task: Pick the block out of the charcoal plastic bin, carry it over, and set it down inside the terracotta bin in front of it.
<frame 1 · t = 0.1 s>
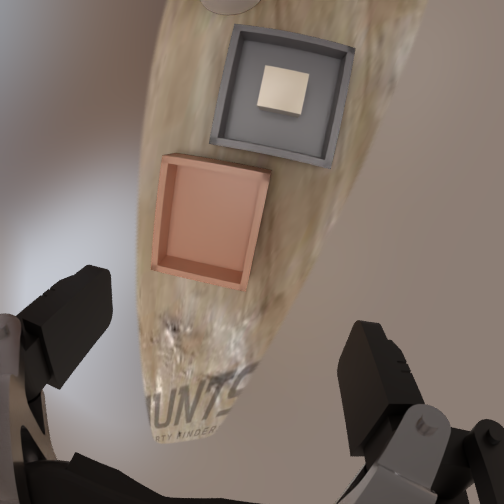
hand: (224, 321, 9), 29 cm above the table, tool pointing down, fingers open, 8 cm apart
block: (282, 95, 32), point 1 cm above the table, touching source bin
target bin: (212, 215, 38), on the table
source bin: (282, 96, 32), on the table
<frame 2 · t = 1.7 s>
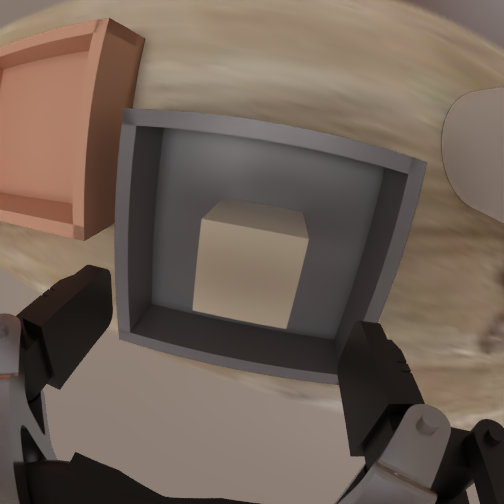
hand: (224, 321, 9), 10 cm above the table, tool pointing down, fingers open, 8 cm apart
cup: (487, 151, 15), on the table
block: (256, 241, 18), point 1 cm above the table, touching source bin
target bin: (50, 126, 17), on the table
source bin: (257, 236, 19), on the table
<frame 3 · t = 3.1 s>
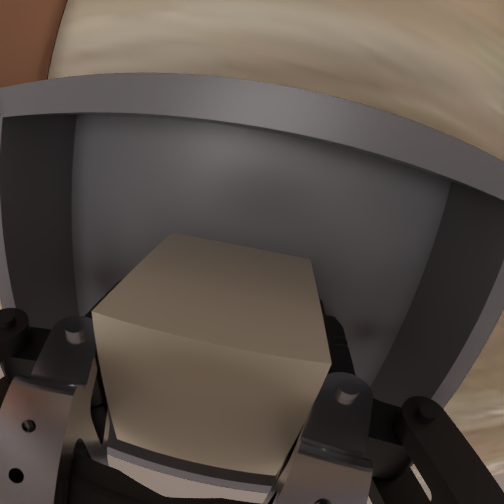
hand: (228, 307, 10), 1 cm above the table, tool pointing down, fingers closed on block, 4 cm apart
block: (229, 306, 10), point 1 cm above the table, touching gripper, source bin
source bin: (234, 292, 11), on the table
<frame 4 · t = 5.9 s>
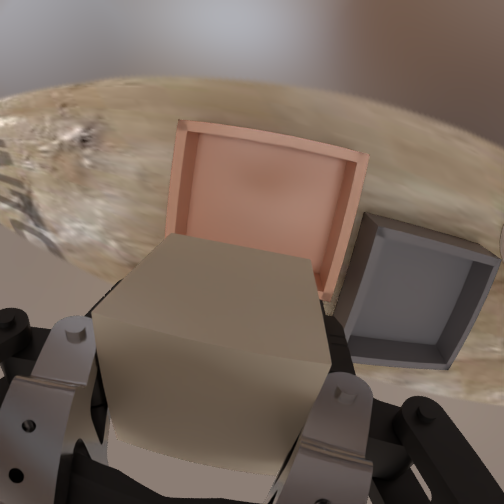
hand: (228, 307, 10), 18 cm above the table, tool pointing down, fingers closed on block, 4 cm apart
block: (229, 306, 10), point 18 cm above the table, touching gripper
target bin: (262, 201, 27), on the table
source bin: (407, 289, 28), on the table
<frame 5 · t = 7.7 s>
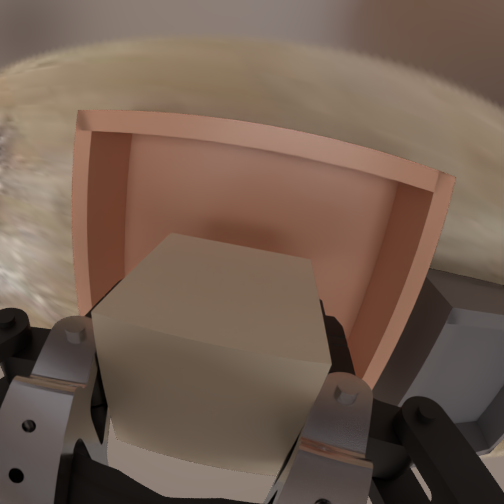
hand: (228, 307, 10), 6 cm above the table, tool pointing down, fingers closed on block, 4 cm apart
block: (229, 306, 10), point 6 cm above the table, touching gripper
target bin: (247, 250, 15), on the table
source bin: (457, 364, 17), on the table
when the fingers open (4 cm above the table, at t = 8.9 s): block drops 3 cm, resting on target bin.
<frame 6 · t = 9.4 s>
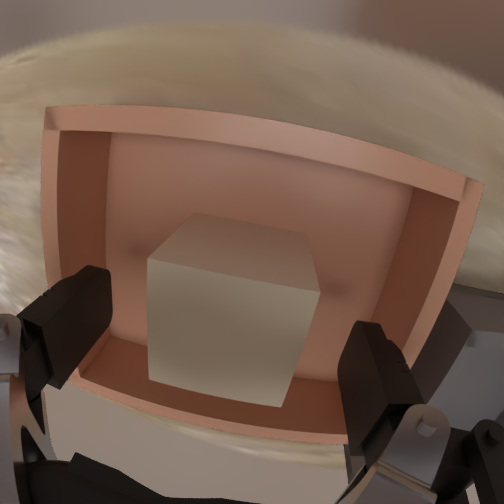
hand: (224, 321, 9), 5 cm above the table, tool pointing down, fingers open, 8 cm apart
block: (241, 273, 13), point 1 cm above the table, touching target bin
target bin: (241, 263, 14), on the table
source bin: (466, 380, 15), on the table
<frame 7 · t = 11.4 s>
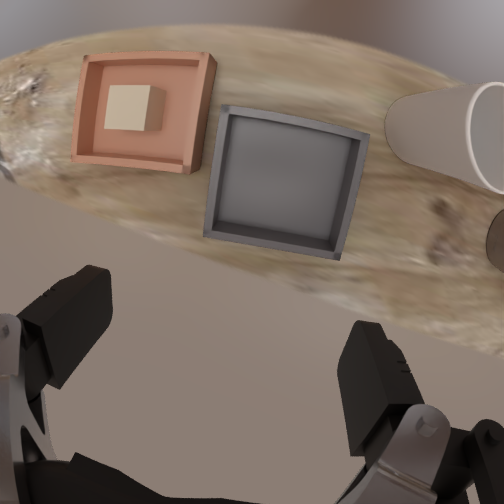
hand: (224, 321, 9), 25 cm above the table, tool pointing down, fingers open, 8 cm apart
cup: (415, 130, 29), on the table
block: (145, 109, 29), point 1 cm above the table, touching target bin
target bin: (147, 110, 30), on the table
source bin: (283, 177, 32), on the table
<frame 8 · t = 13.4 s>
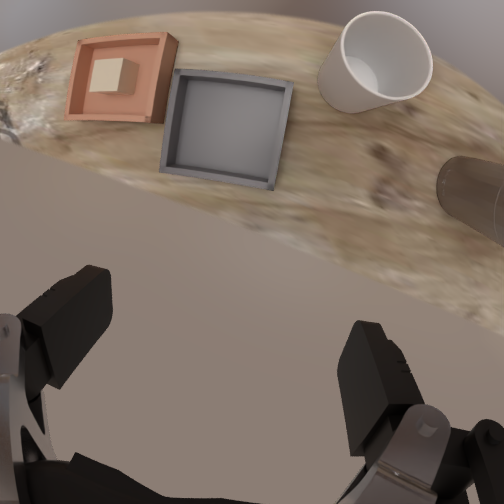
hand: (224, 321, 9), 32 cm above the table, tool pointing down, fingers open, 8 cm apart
cup: (348, 83, 34), on the table
block: (122, 79, 35), point 1 cm above the table, touching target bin
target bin: (125, 80, 36), on the table
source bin: (229, 127, 37), on the table
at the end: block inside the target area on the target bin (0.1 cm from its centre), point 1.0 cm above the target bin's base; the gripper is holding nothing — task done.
